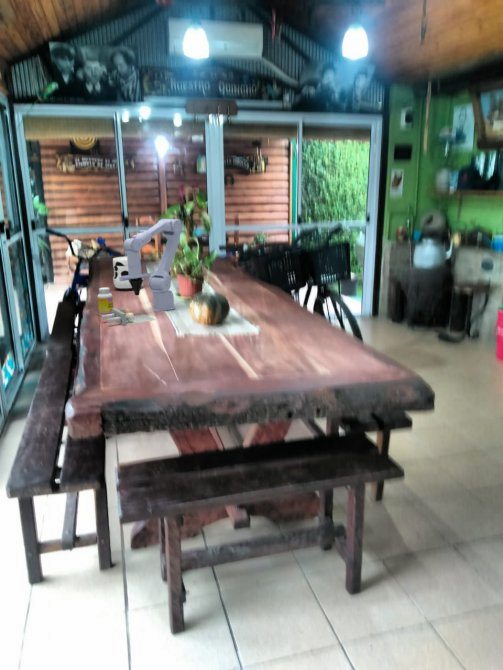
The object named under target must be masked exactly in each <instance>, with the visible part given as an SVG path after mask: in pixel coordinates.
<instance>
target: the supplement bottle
mask: <svg viewBox="0 0 503 670" xmlns="http://www.w3.org/2000/svg"><path fill="white" fill-rule="evenodd" d="M98 291H99V293H98V295H97V303H98V311H99V314H98V315H99V316H101V317H102V315H107V314H112V308H114V300H113V294H112V293H111V292H110V287H99V288H98Z"/></svg>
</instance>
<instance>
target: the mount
mask: <svg viewBox="0 0 503 670" xmlns="http://www.w3.org/2000/svg"><path fill="white" fill-rule="evenodd" d="M120 310H121V309H118V308H116V307H113V308H112V314H113V313H116V317H120V316H122V321H116V322H117V323H119V324H120V325H121V326H128V325H133V324H140V323H145V322H151V321H156V319H155V318H153V317H151V316H149V315H147V314H146V313H142V314H137V315H134V321H126V314H125V313H123V312H122V311H120Z"/></svg>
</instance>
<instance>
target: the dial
mask: <svg viewBox="0 0 503 670" xmlns="http://www.w3.org/2000/svg"><path fill="white" fill-rule="evenodd" d="M124 310H125V309H124ZM125 313H132V310H131V309H130V308H129V309H128V308H127V309H126V310H125ZM126 321H127V320H126Z"/></svg>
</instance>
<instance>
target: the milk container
mask: <svg viewBox="0 0 503 670" xmlns="http://www.w3.org/2000/svg"><path fill="white" fill-rule="evenodd" d="M112 265H113V266H112V268H113V278H112V283H113V286H114V288H115V289H117V290H121V291H122V290H123V291H128V290H129V291H130V290H133V288H132V286H131V284H130V282H129V280H126V281H120V280H119V277H120V276H126V275H129V272H128V261H127V255H126V256H118V257H116V256H115V257H113V258H112ZM142 279H143V282H142V285H141V288H142V287H143V286H144V278H142Z"/></svg>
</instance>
